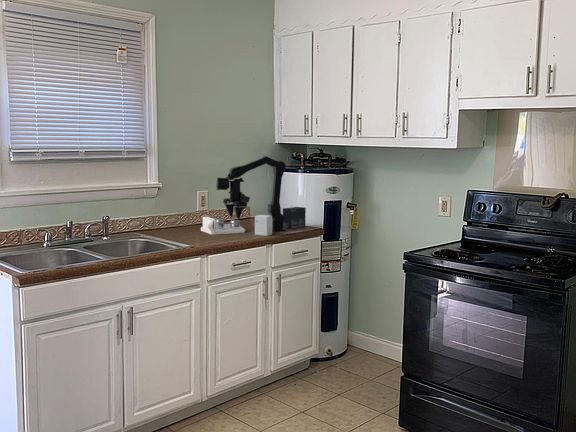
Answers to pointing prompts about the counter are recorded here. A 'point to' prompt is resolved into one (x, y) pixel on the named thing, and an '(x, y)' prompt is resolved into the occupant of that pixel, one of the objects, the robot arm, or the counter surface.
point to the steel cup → (234, 223)
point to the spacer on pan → (220, 222)
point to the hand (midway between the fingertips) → (234, 217)
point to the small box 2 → (294, 217)
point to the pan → (228, 227)
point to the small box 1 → (263, 225)
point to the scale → (212, 227)
